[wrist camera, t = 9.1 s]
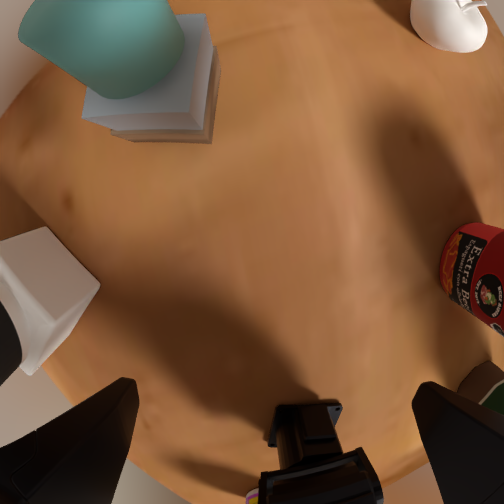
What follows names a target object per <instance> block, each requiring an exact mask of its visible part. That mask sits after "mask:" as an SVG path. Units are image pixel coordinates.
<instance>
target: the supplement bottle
mask: <svg viewBox="0 0 504 504" xmlns="http://www.w3.org/2000/svg"><path fill="white" fill-rule="evenodd" d="M258 490H259V488H257V489H254V490H252V491H250V492H249V493H248V494H247V495H246V504H257V503H258Z"/></svg>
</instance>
